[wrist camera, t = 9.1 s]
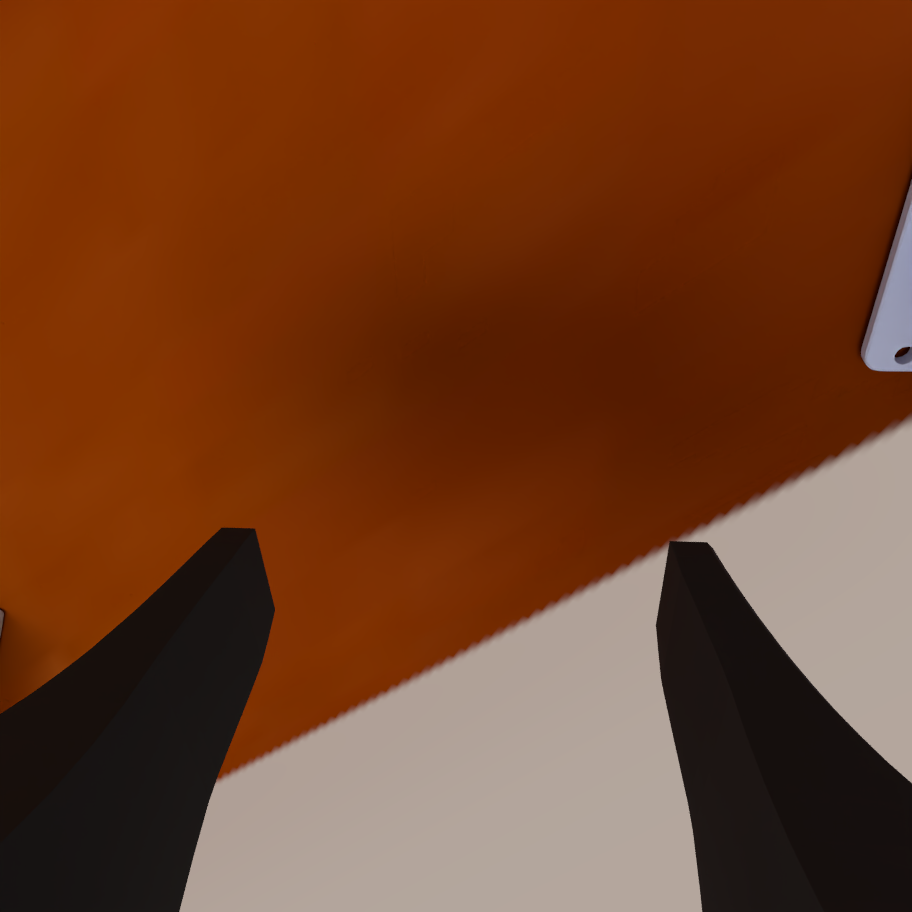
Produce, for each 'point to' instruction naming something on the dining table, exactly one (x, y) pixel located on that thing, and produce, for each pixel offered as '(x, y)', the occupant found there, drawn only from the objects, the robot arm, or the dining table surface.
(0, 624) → the coffee box
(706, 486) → the dining table surface
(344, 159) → the dining table surface
